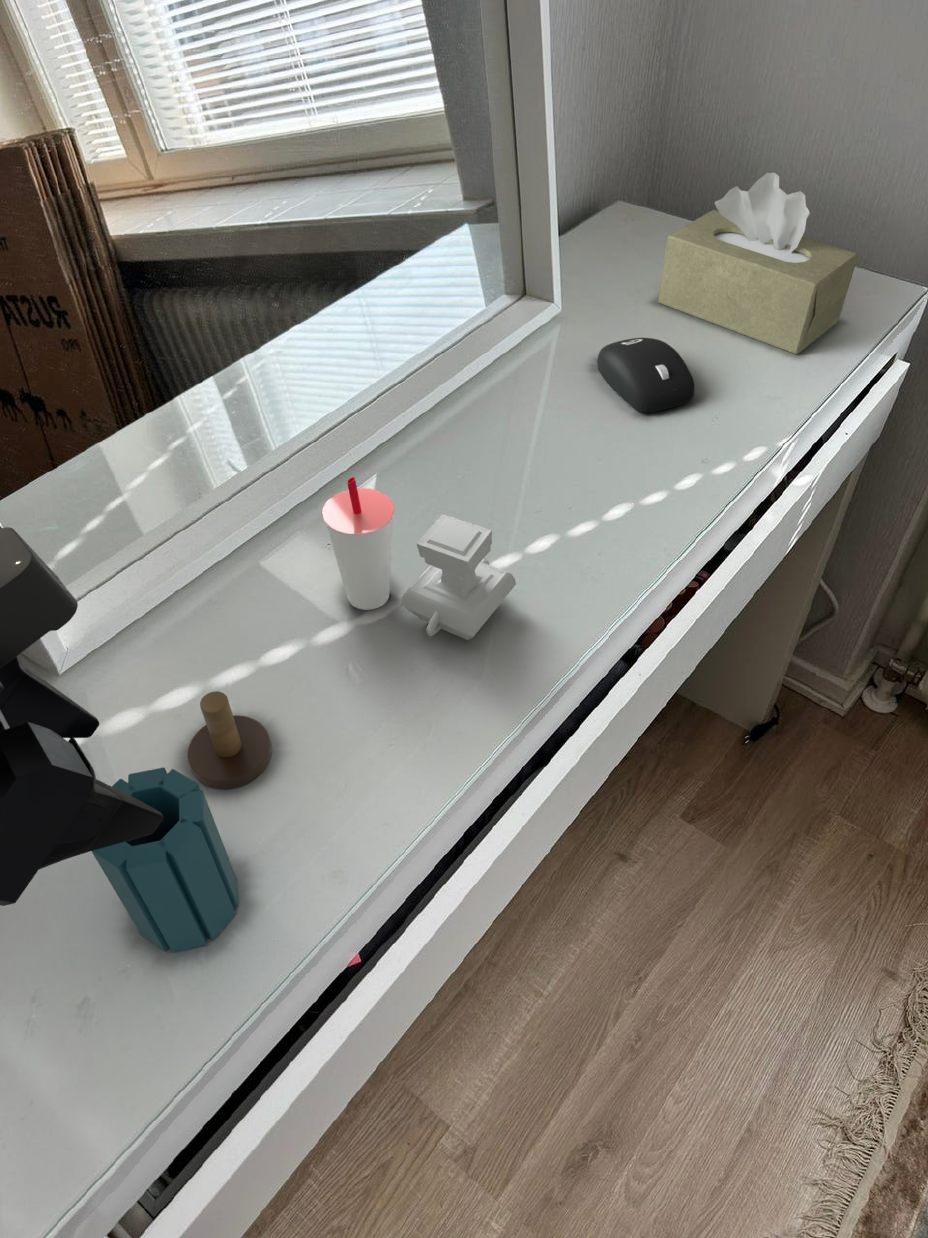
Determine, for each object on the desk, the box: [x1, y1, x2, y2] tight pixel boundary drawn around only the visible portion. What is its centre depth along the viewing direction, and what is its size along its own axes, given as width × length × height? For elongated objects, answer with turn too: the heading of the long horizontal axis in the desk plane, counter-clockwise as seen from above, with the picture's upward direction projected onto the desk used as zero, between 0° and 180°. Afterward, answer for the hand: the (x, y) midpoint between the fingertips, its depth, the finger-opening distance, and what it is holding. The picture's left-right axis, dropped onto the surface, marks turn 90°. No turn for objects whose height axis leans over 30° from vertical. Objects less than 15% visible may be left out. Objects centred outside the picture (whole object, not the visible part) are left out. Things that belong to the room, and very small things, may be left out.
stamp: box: [399, 513, 517, 641], centre depth 70 cm, size 9×7×8 cm
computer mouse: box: [596, 337, 695, 413], centre depth 95 cm, size 8×12×4 cm, turn 24°
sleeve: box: [91, 766, 240, 954], centre depth 53 cm, size 6×6×10 cm
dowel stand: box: [187, 690, 273, 790], centre depth 62 cm, size 6×6×6 cm
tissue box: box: [657, 172, 859, 355], centre depth 101 cm, size 19×10×16 cm, turn 48°
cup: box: [321, 476, 395, 611], centre depth 70 cm, size 5×5×12 cm
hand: (124, 773), depth 47 cm, fingers open, 9 cm apart
